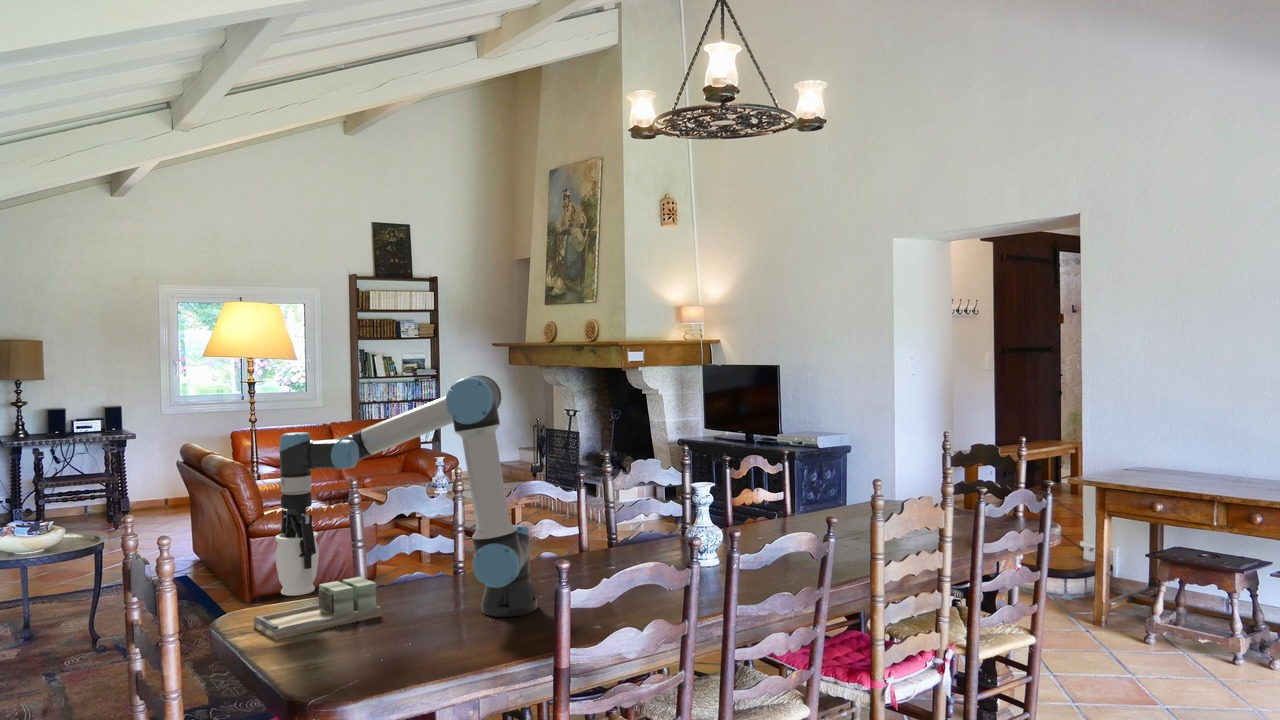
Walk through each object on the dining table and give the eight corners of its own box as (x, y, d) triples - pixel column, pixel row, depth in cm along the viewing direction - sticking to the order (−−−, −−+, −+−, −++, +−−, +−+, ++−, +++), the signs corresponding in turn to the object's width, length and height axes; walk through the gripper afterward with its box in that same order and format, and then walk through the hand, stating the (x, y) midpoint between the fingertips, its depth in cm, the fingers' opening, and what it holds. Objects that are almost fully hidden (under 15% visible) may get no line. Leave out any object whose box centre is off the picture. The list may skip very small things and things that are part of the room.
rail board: (380, 616, 245) (380, 584, 245) (276, 640, 226) (275, 605, 226) (355, 605, 256) (355, 575, 256) (253, 627, 237) (253, 594, 237)
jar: (304, 598, 231) (303, 539, 231) (268, 596, 233) (266, 538, 233) (327, 587, 241) (325, 530, 241) (291, 585, 243) (290, 529, 243)
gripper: (265, 489, 243) (266, 572, 243) (299, 498, 226) (301, 587, 226) (293, 486, 248) (294, 567, 248) (328, 495, 231) (330, 582, 231)
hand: (297, 577), depth 237 cm, fingers closed on jar, 10 cm apart
